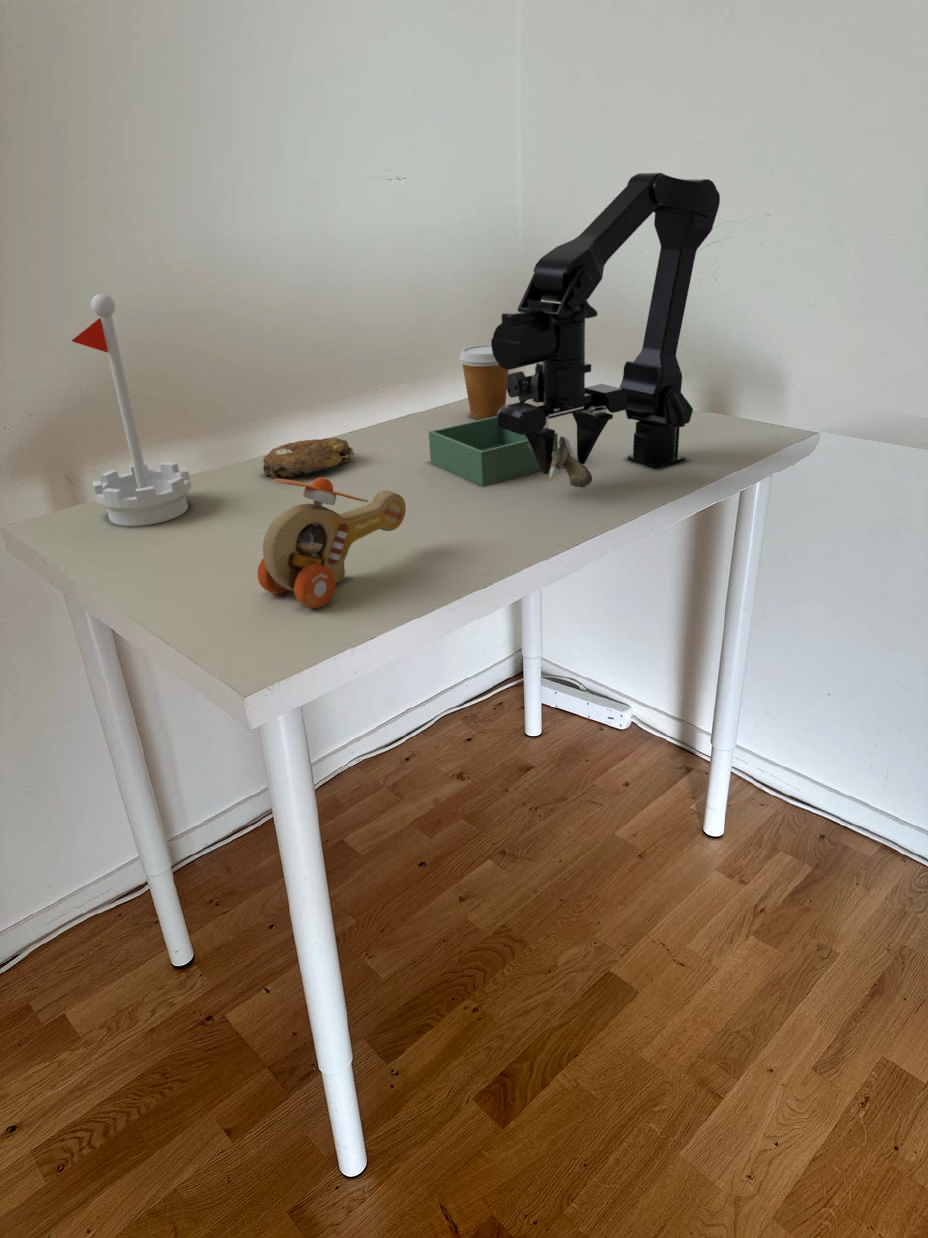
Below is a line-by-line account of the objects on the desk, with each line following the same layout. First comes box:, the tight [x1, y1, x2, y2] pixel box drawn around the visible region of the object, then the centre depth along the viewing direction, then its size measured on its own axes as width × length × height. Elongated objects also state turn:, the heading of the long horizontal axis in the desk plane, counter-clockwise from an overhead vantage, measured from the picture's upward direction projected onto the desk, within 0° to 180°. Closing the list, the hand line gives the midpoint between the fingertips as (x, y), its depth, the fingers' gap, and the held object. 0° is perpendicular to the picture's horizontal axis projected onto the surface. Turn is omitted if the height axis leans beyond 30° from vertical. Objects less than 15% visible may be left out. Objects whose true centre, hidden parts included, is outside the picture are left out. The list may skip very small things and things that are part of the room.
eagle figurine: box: [528, 435, 593, 489], centre depth 128 cm, size 8×7×9 cm
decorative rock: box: [262, 437, 356, 479], centre depth 146 cm, size 11×4×15 cm
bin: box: [428, 416, 559, 486], centre depth 142 cm, size 14×15×5 cm
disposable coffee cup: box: [458, 344, 509, 420], centre depth 167 cm, size 10×10×12 cm
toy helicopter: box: [257, 477, 407, 609], centre depth 105 cm, size 8×21×14 cm, turn 140°
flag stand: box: [71, 293, 192, 527], centre depth 124 cm, size 13×13×30 cm
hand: (563, 468), depth 129 cm, fingers closed on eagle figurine, 6 cm apart
